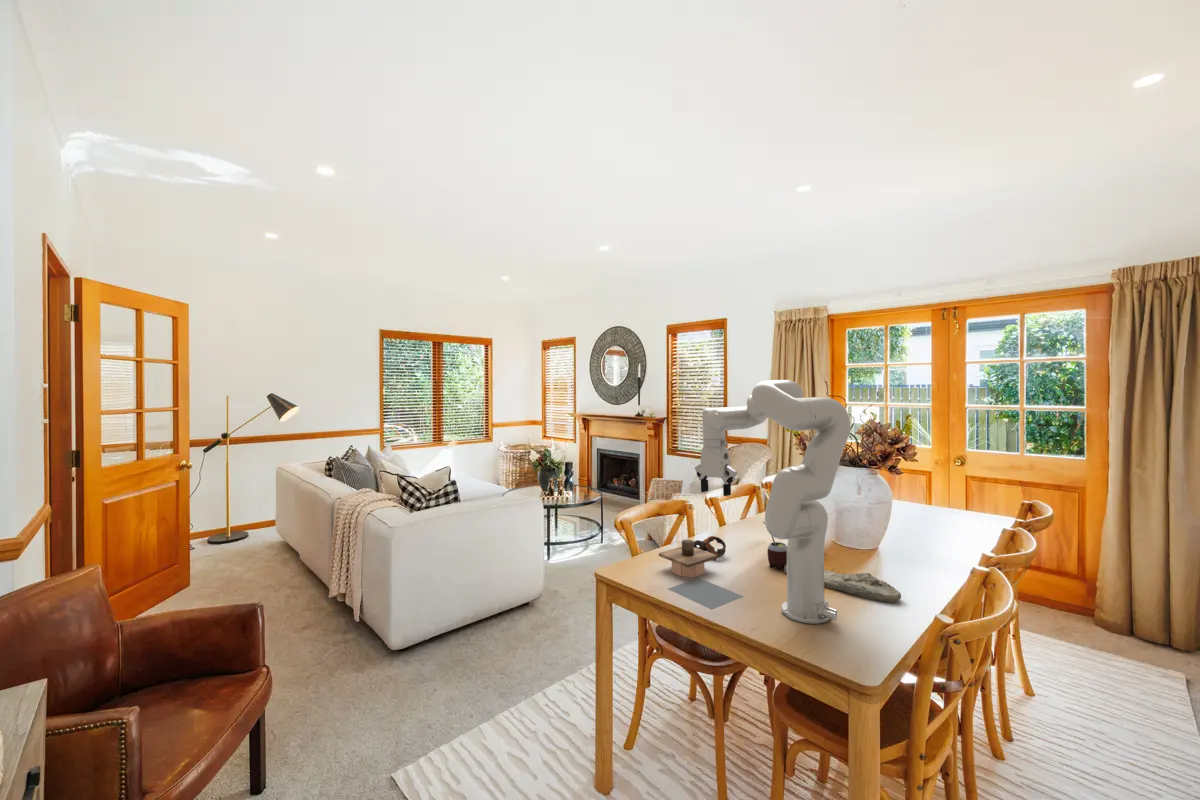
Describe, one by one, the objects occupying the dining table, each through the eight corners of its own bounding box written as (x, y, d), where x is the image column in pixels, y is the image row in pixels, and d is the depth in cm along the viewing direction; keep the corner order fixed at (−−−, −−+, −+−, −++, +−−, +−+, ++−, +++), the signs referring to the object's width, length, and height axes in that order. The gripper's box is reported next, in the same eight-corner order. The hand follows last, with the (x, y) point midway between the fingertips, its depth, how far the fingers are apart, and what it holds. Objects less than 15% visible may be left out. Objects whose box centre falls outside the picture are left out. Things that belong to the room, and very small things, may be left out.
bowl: (710, 572, 168) (710, 557, 168) (688, 580, 162) (687, 565, 162) (687, 563, 177) (687, 549, 177) (665, 570, 171) (665, 556, 170)
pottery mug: (717, 551, 190) (725, 536, 187) (722, 570, 182) (730, 554, 178) (687, 545, 189) (695, 529, 186) (691, 564, 181) (698, 547, 177)
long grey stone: (792, 571, 172) (778, 580, 165) (791, 556, 172) (777, 565, 165) (906, 596, 146) (894, 608, 139) (905, 578, 146) (893, 590, 139)
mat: (743, 597, 148) (743, 596, 148) (711, 610, 140) (711, 609, 140) (699, 579, 162) (699, 577, 162) (667, 590, 154) (667, 588, 154)
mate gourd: (791, 571, 168) (791, 527, 167) (767, 570, 168) (767, 527, 168) (785, 563, 175) (785, 521, 175) (762, 563, 176) (762, 521, 176)
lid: (717, 558, 167) (717, 542, 167) (688, 567, 159) (687, 551, 159) (687, 547, 179) (687, 532, 179) (658, 556, 171) (658, 540, 171)
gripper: (742, 444, 165) (743, 495, 165) (702, 441, 179) (703, 488, 179) (727, 446, 161) (729, 498, 161) (687, 443, 175) (689, 491, 175)
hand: (715, 493), depth 170 cm, fingers open, 9 cm apart
